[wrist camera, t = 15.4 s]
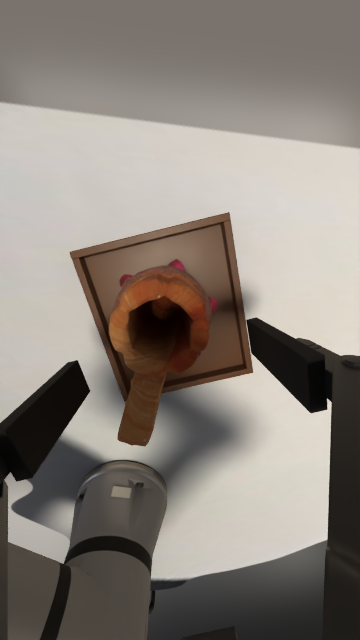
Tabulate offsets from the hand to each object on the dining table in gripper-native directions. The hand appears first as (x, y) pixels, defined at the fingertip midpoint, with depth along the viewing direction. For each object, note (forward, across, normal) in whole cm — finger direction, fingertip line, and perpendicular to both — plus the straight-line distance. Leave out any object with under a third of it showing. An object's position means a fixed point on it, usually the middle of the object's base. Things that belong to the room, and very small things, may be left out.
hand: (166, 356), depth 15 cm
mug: (+12, +1, 0) cm, 12 cm away
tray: (+12, 0, 0) cm, 12 cm away
